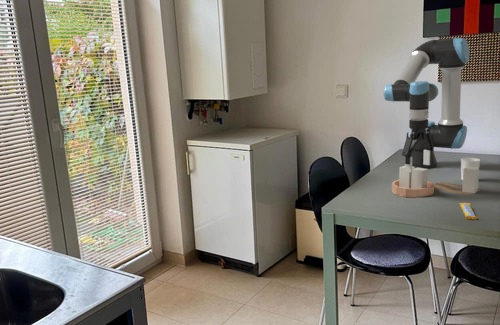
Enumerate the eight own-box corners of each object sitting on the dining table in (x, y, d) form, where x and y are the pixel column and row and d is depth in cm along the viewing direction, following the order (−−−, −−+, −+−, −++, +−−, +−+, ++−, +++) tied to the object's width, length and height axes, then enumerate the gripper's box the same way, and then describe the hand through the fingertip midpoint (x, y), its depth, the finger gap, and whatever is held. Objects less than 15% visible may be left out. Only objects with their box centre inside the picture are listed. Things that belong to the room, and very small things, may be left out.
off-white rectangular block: (417, 189, 198) (417, 167, 196) (427, 191, 195) (427, 169, 192) (411, 191, 196) (411, 169, 193) (421, 194, 192) (421, 171, 190)
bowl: (406, 184, 209) (407, 176, 208) (441, 191, 196) (442, 183, 195) (384, 192, 199) (384, 184, 198) (419, 200, 186) (419, 191, 185)
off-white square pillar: (465, 189, 196) (466, 166, 194) (477, 190, 193) (479, 167, 190) (462, 191, 193) (463, 168, 191) (474, 193, 190) (475, 170, 187)
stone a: (404, 187, 203) (405, 165, 201) (414, 189, 199) (415, 166, 197) (399, 189, 200) (399, 167, 198) (408, 191, 197) (409, 168, 194)
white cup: (480, 182, 206) (482, 161, 204) (462, 182, 208) (463, 161, 206) (476, 178, 214) (477, 157, 212) (458, 178, 215) (459, 157, 213)
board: (440, 182, 209) (440, 181, 209) (482, 190, 195) (482, 189, 194) (425, 188, 202) (425, 187, 202) (468, 196, 188) (468, 195, 187)
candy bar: (478, 221, 162) (478, 216, 161) (465, 221, 163) (465, 216, 162) (470, 206, 177) (470, 202, 177) (458, 206, 178) (459, 201, 178)
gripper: (409, 124, 180) (408, 175, 185) (443, 115, 195) (441, 163, 200) (393, 122, 186) (393, 172, 191) (427, 114, 201) (425, 160, 206)
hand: (417, 168), depth 196 cm, fingers open, 13 cm apart
